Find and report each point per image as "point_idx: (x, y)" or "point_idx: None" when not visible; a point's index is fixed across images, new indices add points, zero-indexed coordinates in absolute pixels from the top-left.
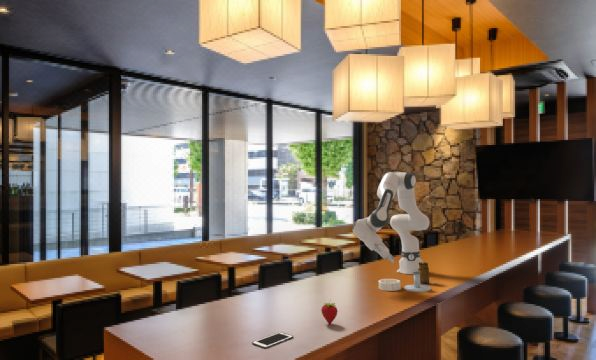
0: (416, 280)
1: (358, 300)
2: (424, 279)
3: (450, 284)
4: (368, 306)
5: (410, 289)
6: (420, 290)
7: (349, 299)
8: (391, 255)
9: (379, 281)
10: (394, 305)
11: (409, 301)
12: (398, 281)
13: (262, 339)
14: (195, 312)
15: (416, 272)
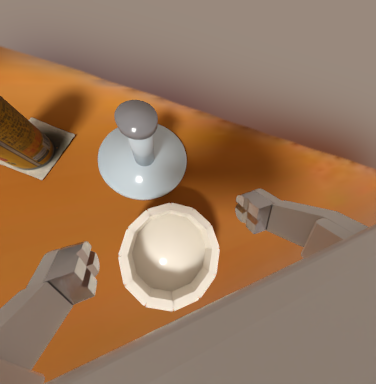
0: (153, 143)
1: None
2: (43, 137)
3: (44, 77)
4: None
5: (181, 172)
6: (182, 144)
7: None
8: (35, 296)
9: (197, 294)
10: (329, 180)
11: (284, 157)
12: (153, 215)
13: None
14: None
15: (157, 118)
